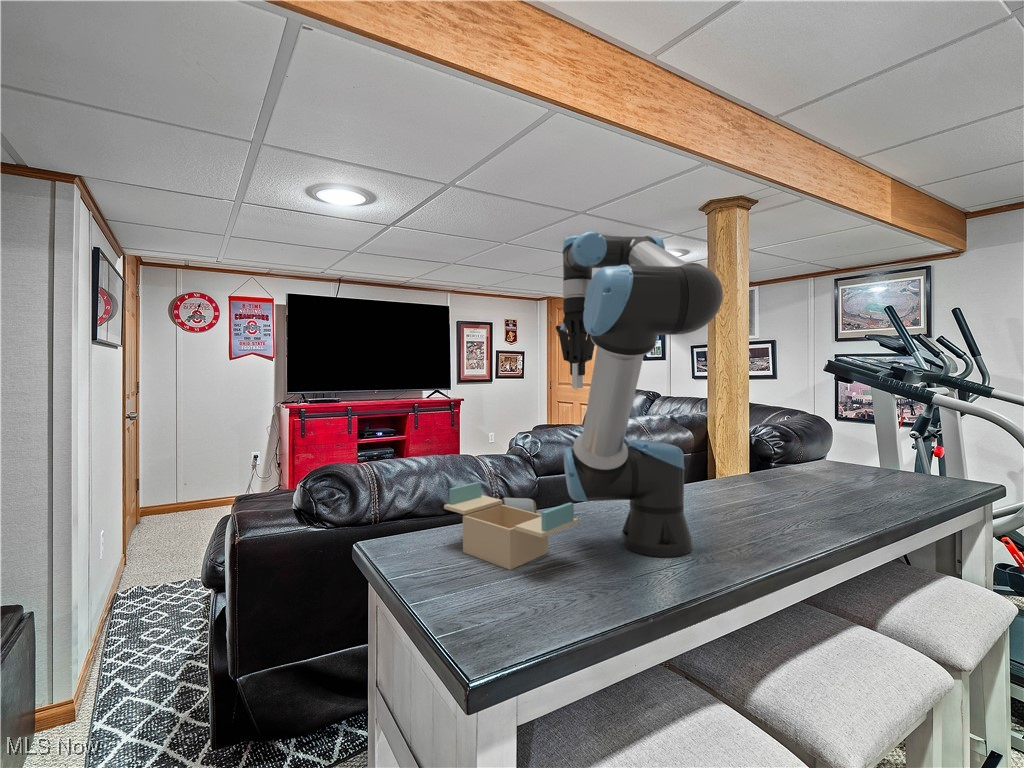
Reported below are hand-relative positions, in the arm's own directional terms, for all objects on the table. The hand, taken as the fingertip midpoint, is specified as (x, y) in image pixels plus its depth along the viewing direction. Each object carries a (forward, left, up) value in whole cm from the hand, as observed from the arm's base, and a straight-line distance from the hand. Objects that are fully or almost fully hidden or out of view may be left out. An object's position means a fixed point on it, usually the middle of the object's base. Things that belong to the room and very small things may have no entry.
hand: (577, 388), depth 132 cm
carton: (-3, +31, -34) cm, 46 cm away
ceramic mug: (+7, +16, -35) cm, 39 cm away
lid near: (-15, +31, -26) cm, 43 cm away
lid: (+7, +31, -26) cm, 41 cm away
